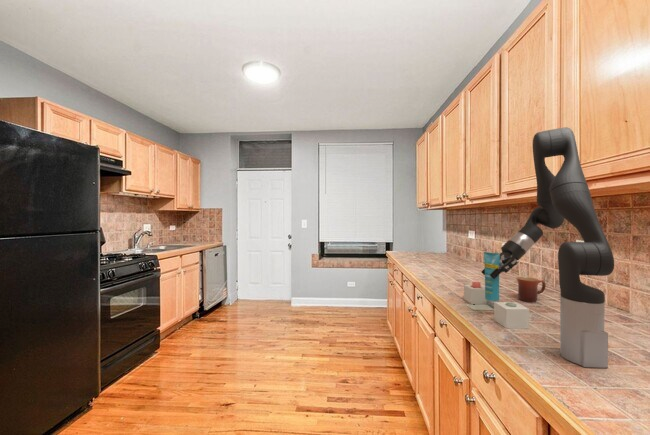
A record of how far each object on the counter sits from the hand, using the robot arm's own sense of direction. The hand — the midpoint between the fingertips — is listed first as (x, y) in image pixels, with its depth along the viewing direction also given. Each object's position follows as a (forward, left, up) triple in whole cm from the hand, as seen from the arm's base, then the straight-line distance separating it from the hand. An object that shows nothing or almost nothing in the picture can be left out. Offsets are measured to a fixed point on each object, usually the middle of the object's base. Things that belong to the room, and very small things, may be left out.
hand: (487, 275), depth 113 cm
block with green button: (-9, -4, -16) cm, 19 cm away
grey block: (+18, -4, -16) cm, 24 cm away
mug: (+20, -31, -16) cm, 40 cm away
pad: (+9, -2, -16) cm, 19 cm away
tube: (0, -2, -10) cm, 10 cm away
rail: (+4, -8, -16) cm, 19 cm away
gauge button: (+18, -4, -11) cm, 21 cm away
